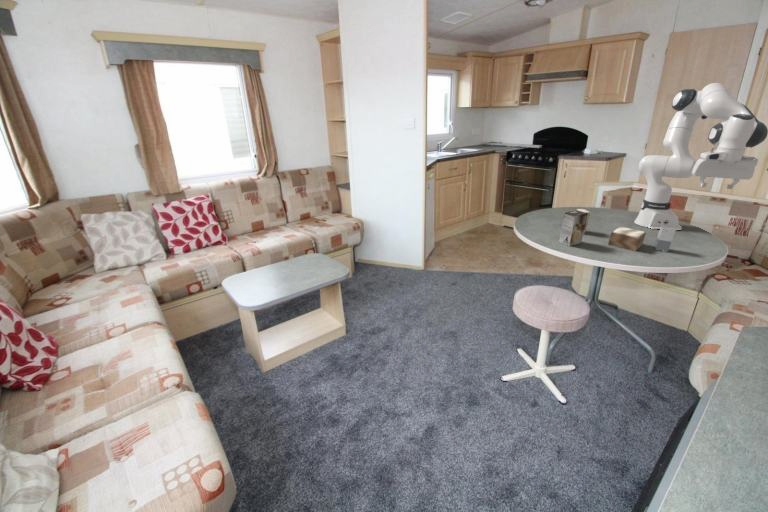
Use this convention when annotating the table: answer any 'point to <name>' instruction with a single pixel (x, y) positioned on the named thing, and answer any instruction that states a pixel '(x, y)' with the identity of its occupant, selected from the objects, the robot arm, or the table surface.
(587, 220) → the skincare box
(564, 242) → the coffee box
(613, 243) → the walnut stand
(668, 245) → the block
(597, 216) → the table surface
